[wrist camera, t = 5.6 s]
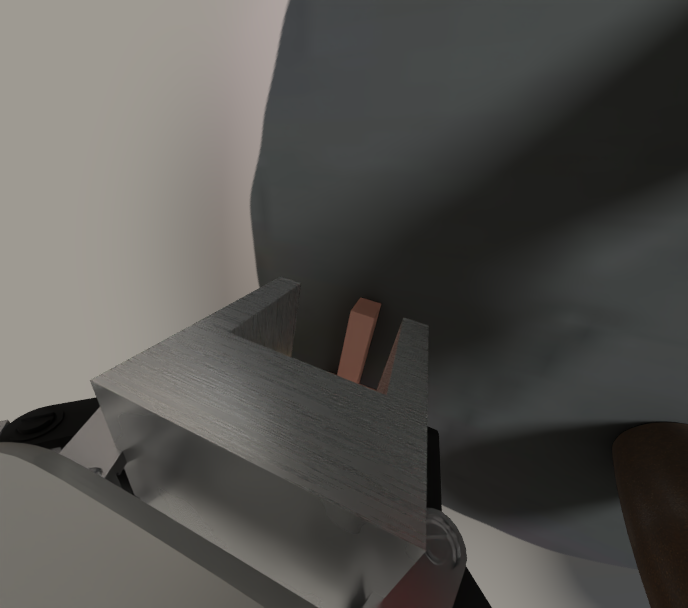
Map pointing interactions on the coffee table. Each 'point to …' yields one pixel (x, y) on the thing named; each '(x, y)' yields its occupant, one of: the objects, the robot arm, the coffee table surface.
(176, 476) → the block
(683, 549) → the plant pot
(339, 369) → the brown mallet
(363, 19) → the coffee table surface
